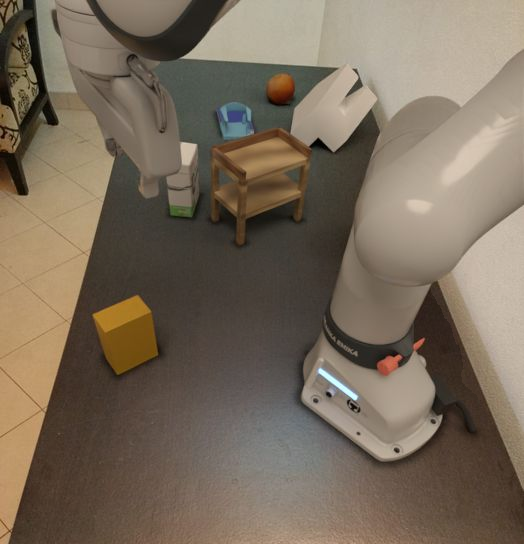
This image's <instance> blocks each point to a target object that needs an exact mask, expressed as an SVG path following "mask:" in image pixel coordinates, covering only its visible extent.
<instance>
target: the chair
mask: <svg viewBox="0 0 524 544" xmlns="http://www.w3.org/2000/svg"><path fill="white" fill-rule="evenodd" d="M220 107H221V108H220V111H221V114H222V118H223V120H222V122H220V123H219V128H220V132H221V136H222V142H223V143H225V142H228V141H232V140H235V139H238V138H242V137H245V136H248V135H252V134H251V132H250V129H249V127H250V124H251V122H252V109H251V108H249V107H248V106H247V105H245V104H243V103H240V102H236V101H234V102H228V103H226V104H224V105H222V106H220ZM230 111H239V112H243V113H244V114H243V118H242V122H237V123H228V118H227V112H230ZM246 113H247V120H248V123H247V122H246Z"/></svg>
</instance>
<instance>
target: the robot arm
mask: <svg viewBox="0 0 524 544" xmlns="http://www.w3.org/2000/svg"><path fill="white" fill-rule="evenodd" d="M241 1H242V0H54V4H55V5H54V6H50V8H49V14H50V15H49V16H50V19H51V24H52V27H53V29H54V31H55V33H56V34H57V36H59V38H60V40H61V45H62V49H63V51H64V55H65V59H66V63H67V67H68V70H69V73H70V77H71V80H72V83H73V85H74V88H75V90H76V91H75V92H76V93H77V95H78V97H79V99H80V100H81V101H82V103H83V104H84V105H85V107H87V109H88V110H89V111H90V112H91V113H92V114H93V116H94V117H95V120H96V122H97V126H98V127H99V130H100V133H101V135H102V137H103V141H104V147H105V150H106V151H107V153H108V154H109V155H110V156H111V157H113V158H115V157H118V156H123V155H124V153H125V154H126V155H127V156H128V157H129V158H130V159H131V161H132V162H133V163H134V164H135V166H136V167H137V170H138V171H139V172H140V175H139V176H140V177H138V178H137V186H138V191H139V192H140V194H141V195H142V196H143V197H144V198H145V199H147V200H148V199H151V198H155V197H158V195H159V193H160V188H159V181H160V179H163V178H166V177H167V176H171V175H174V174H177V173H178V172H179V170H180V168H181V166H182V157H181V147H180V142H181V139H180V131H179V122H178V118H177V117H178V116H177V110H176V107H175V103H174V100H173V98H172V96H171V94H170V93H169V91H168V90H167V89H166V88H165V87H164V85H162V84H161V83H160V78H159V77H158V75H157V74H156V73H155V72H154V71H152V70H154V69H155V68H157V67H158V66H160V64H161V62H172V61H176V60H179V59H181V58H184V57H185V56H187V55H188V54H189V53H190V52H192V51H193V50H194V49H195V48H196V47H197V46H198V45H199V44H200V43H201V42H202V40H203V39H204V38H205V37H206V36H207V34H208V33H209V32H210V30H211V29H212V28H213V27H214V26H215V25H216V24H217V23H219V21H221V19H223V17H225V16H226V15H227V14H228V13H229V12H230V11H231V10H232V9H233V8H234V7H235V6H237V4H239V3H240V2H241ZM364 174H365V175H364V179H363V182H362V185H361V187H360V190H359V193H358V196H357V199H356V202H355V206H354V211H353V222H352V226H351V229H350V232H349V235H348V240H347V243H346V246H345V250H344V253H343V256H342V260H341V264H340V267H339V271H338V275H337V278H336V282H335V286H334V289H333V293H332V295H331V296H330V298H329V299H328V301H327V304H326V308H325V311H324V314H323V318H322V323H321V324H322V325H321V326H322V329H321V332H320V334H319V336H318V338H317V340H316V341H315V343H314V345H313V347H312V348H311V349H310V350H309V352H308V353H307V354H306V357H305V359H304V361H303V366H302V374H303V381H304V383H303V387H302V390H301V394H300V401H301V403H302V404H303V405H304V406H306V407H307V408H309V410H311V411H313V412H314V414H316V415H317V416H319V417H320V418H322V419H323V420H324V421H325V422H326V423H328V424H330V425H331V426H332V427H333V428H335V429H336V430H337V431H339V433H342V434H343V435H344V436H345V437H347V438H348V439H349V440H351V441H352V442H353V443H355V444H356V445H357V446H358V447H359V448H361V449H362V450H363V451H365V452H366V453H367V454H369V455H370V456H372V457H373V458H374V459H375V460H377V461H379V462H383V463H384V462H394V461H399V460H401V459H402V460H403V459H404V458H406V457H408V456H410V455H412V454H414V453H415V452H416V451H418V450H419V449H421V448H422V447H423V446H424V445H426V444H427V443H428V442H429V441H430V440H431V439H432V437H434V435H435V434H436V432H437V431H438V429H439V427H440V425H441V423H442V421H443V415H444V414H447V413H450V412H451V411H452V409H453V408H454V406H456V407H457V408H458V409H459V410H460V412H461V413H462V416H463V417H464V420H465V423H466V427H467V430H468V432H470V433H472V432H475V431H476V427H475V423H474V421H473V418H472V415H471V413H470V411H469V410H468V407H467V406H466V405H465V403H464V402H463V401H462V400H461V399H459V397H457V396H456V395H454V393H453V391H452V390H451V389H450V388H449V387H448V385H447V383H445V381H444V380H443V378H442V377H441V376H440V375H439V374H438V372H435V373H433V374H429V372H428V370H427V361H426V359H425V357H424V356H422V355H420V354H418V351H417V350H419V348H421V346H422V345H423V343H424V341H425V340H426V338H425V337H423V338H421V339H419V340H418V341H417V342H415V325H414V321H415V319H416V317H417V315H418V313H419V311H420V308H421V306H422V304H423V303H424V300H425V298H426V296H427V294H428V292H429V290H430V288H431V286H432V284H434V283H435V282H438V281H439V280H442V279H443V278H445V277H446V276H448V274H450V273H451V272H452V271H453V270H454V269H455V268H456V266H457V265H458V264H459V262H460V261H461V260H462V259H463V257H464V256H465V255H466V253H467V252H468V251H469V250H470V249H471V248H472V247H473V246H474V245H475V244H476V243H477V242H478V241H479V240H480V239H481V238H482V237H484V236H485V235H486V234H487V233H488V232H490V231H491V230H492V229H494V228H495V227H496V226H497V225H499V224H500V223H501V222H503V221H504V220H505V219H507V218H509V216H511V215H512V214H513V213H515V212H516V211H518V210H519V209H520V208H522V207H523V206H524V48H523V49H521V50H520V51H518V52H517V53H516V54H514V55H513V56H512V57H511V58H509V60H508V61H506V63H505V64H504V65H503V66H502V68H501V69H500V70H499V71H498V73H496V74H495V75H494V77H492V79H491V80H490V81H488V82H487V83H486V85H484V86H483V87H482V88H481V89H480V90H479V91H478V92H477V93H475V95H473V96H472V97H471V98H470V99H469V100H468V101H467V102H465V103H464V104H463V105H460V104H458V103H457V102H456V101H454V100H452V99H450V98H449V97H445V96H440V95H425V96H422V97H418V98H416V99H413V100H412V101H410V102H408V103H406V104H405V105H404V106H403V107H401V108H400V109H399V110H398V111H397V112H396V113H395V114H394V115H392V117H391V118H390V120H388V122H387V123H386V124H385V125H384V127H383V128H382V129H381V131H380V133H379V135H378V137H377V139H376V141H375V144H374V148H373V150H372V154H371V156H370V159H369V162H368V164H367V168H366V171H365V173H364ZM396 451H397V452H396Z"/></svg>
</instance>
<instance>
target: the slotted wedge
mask: <svg viewBox="0 0 524 544" xmlns="http://www.w3.org/2000/svg"><path fill="white" fill-rule="evenodd" d="M358 80H359V75H358V74H357V73H356V72H355V71H354V69H353V68H352V67H351V66H350V65H349V63H347V62H346V63H344V64H343V65H341V66H340V67H339V68H337V69H336V70H335V71H333V72H332V73H330V74H329V75H328V76H326V77H325V78H323V79H322V80H321V81H319V82H318V83H316V85H315V86H314V87H313V88H312V89H311V90H310V91H309V92H308V93H307V95H305V97H304V98H303V99H301V101H300V102H298V104H297V105H296V106H295V107H294V109H293V116H292V121H291V127H290V132H289V133H290V134H291V135H293V136H294V137H295V138H297V139H298V140H300V141H301V142H303V143H304V144H306V145H307V146H309V147H310V146H311V145H312V144H313V143H314V142H315V141H317V139H319V140H320V141H322V143H323V144H324V145H325V146H327V148H328V149H329V150H330V151H331V152H332V153H335V152H336V151H337V150H338V149H339V148H341V147H342V145H344V144H345V143H346V142H347V141H348V139H349V138H350V137H351V135H352V134H353V133H354V131H355V130H356V129H357V127H358V126H359V125H360V123H361V122H362V121H363V119H364V118H365V117H366V115H367V114H368V113H369V112H370V110H371V109H372V108H373V107H374V105H375V104H376V103H377V101H378V97H377V96H376V94H375V93H374V92H373V91H372V90H371V89H370V87H368V85H367V84H365V85H363V86H362V87H359V89H356V90H355V91H354V92H352V93H351V94H349V95H348V93H349V92H350V91H351V89H352V88H353V86H354V85H355V84H356V83H357V82H358ZM347 95H348V96H347Z"/></svg>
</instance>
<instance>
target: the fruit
mask: <svg viewBox="0 0 524 544" xmlns="http://www.w3.org/2000/svg"><path fill="white" fill-rule="evenodd" d="M265 86H266V87H265V90H266V93H267V97H268V99H269V100H270V101H271V102H272V103H273V104H275V105H278V106H279V105H280V106H281V105H282V106H283V105H287V104H288V105H290V103H291V100H292V98H293V97H294V95H295V92H296V84H295V81H294V79H293V78H292V76H291V75H289V74H288V73H278V74H277V73H276V74H275V75H273V76H272V77H271V78H270V79H269V80H268V81H267V83H266V85H265Z"/></svg>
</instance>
